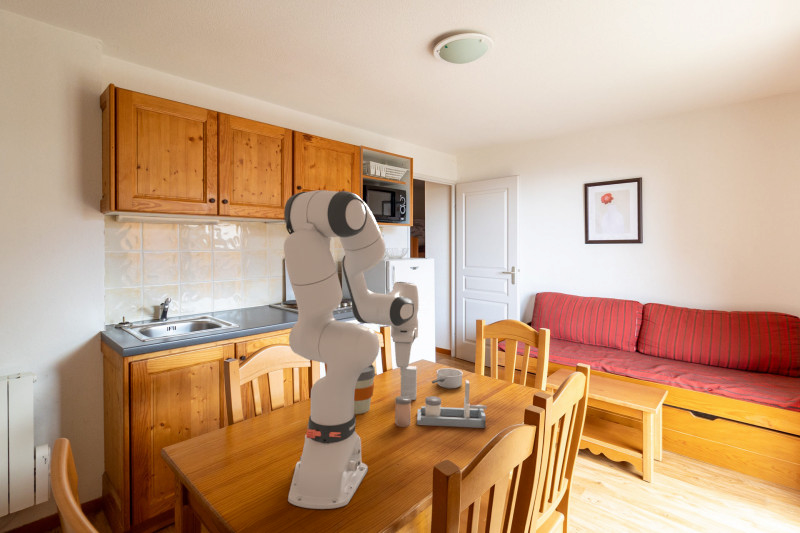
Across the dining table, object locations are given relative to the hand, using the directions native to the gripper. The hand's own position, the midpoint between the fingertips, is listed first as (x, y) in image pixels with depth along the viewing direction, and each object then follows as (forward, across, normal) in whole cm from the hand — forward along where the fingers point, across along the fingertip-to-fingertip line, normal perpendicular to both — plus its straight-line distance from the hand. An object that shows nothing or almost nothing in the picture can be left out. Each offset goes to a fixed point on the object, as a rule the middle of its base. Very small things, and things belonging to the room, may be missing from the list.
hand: (403, 372), depth 126 cm
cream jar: (+17, -4, +10) cm, 20 cm away
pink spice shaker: (+17, 0, 0) cm, 17 cm away
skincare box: (+17, -22, +1) cm, 28 cm away
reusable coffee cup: (+17, -10, -17) cm, 26 cm away
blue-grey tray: (+17, -4, +17) cm, 24 cm away
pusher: (+17, -4, +24) cm, 30 cm away
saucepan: (+17, -34, +16) cm, 42 cm away
